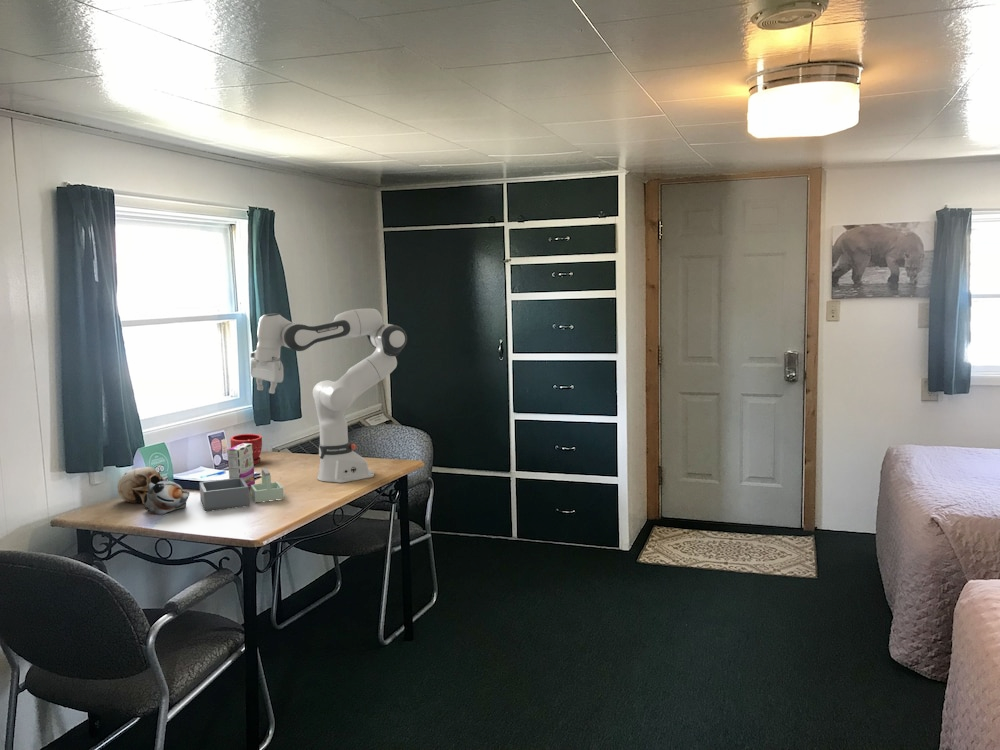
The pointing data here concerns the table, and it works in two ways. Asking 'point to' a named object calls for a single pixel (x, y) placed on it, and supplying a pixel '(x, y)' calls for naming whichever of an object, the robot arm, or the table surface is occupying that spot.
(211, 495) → the large crate
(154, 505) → the lucky cat figurine
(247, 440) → the plant pot
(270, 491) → the small crate
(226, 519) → the table surface
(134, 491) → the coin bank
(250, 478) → the candy bar box
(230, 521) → the table surface
